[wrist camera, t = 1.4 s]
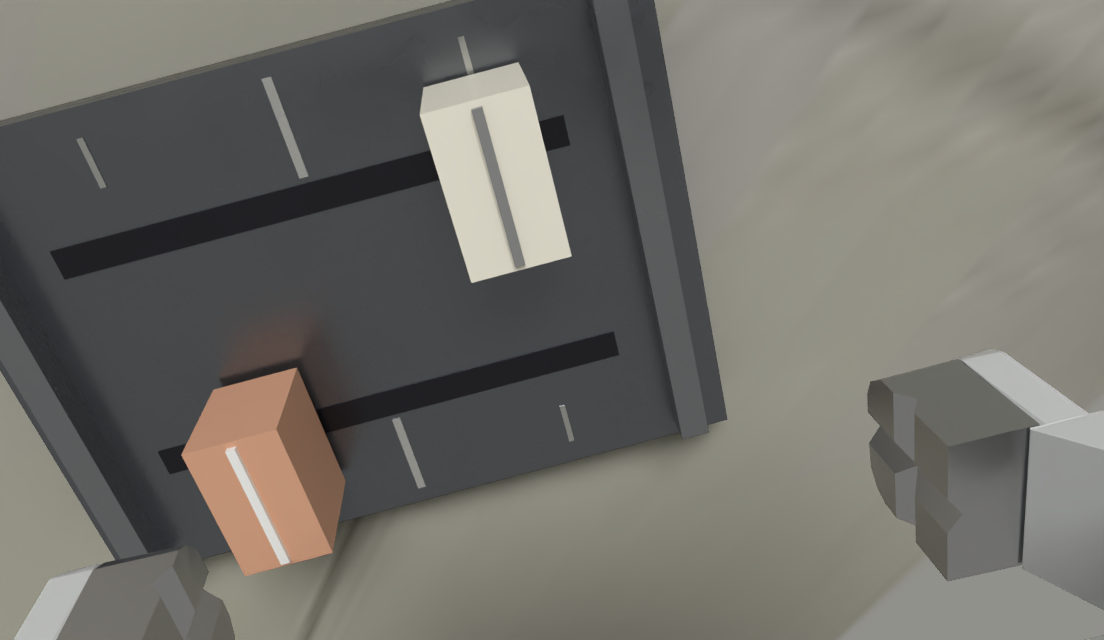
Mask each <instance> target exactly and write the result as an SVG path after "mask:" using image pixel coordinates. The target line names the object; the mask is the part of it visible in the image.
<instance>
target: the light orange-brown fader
mask: <svg viewBox="0 0 1104 640" xmlns="http://www.w3.org/2000/svg"><path fill="white" fill-rule="evenodd" d="M181 455H182V457H183V459H184V461H185V463H186V465H187V467H188V469H189V471H190V473H191V474H192V476H193V478H194V480H195V482H196V484H197V486H198V488H199V490H200V492H201V493H202V495H203V497H204V499H205V501H206V503H207V505H208V507H209V509H210V511H211V512H212V514H213V516H214V518H215V520H216V522H217V524H218V526H219V528H220V530H221V531H222V533H223V535H224V537H225V539H226V541H227V543H228V545H229V547H230V549H231V551H232V552H233V554H234V556H235V558H236V560H237V562H238V564H239V566H240V568H241V570H242V571H243V573H244V575H245V576H247V575H251V574H255V573H258V572H262V571H266V570H270V569H274V568H277V567H281V566H285V565H289V564H292V563H296V562H300V561H304V560H308V559H311V558H315V557H319V556H323V555H326V554H330V553H333V549H334V543H335V537H336V532H337V526H338V521H339V515H340V510H341V504H342V499H343V493H344V487H345V482H346V481H345V478H344V476H343V474H342V471H341V469H340V467H339V464H338V462H337V460H336V457H335V455H334V453H333V450H332V448H331V446H330V443H329V441H328V439H327V436H326V434H325V432H324V429H323V427H322V425H321V422H320V420H319V418H318V415H317V413H316V411H315V408H314V406H313V404H312V401H311V399H310V397H309V394H308V392H307V390H306V387H305V385H304V383H303V380H302V378H301V376H300V373H299V371H298V369H297V368H293V369H289V370H286V371H282V372H278V373H274V374H271V375H267V376H263V377H259V378H256V379H252V380H248V381H244V382H241V383H237V384H233V385H229V386H225V387H222V388H218V389H214V390H213V392H212V394H211V396H210V398H209V400H208V402H207V404H206V406H205V408H204V410H203V412H202V414H201V416H200V418H199V420H198V422H197V424H196V426H195V428H194V430H193V432H192V434H191V436H190V438H189V440H188V442H187V444H186V446H185V448H184V450H183V452H182V454H181Z"/></svg>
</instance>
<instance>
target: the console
mask: <svg viewBox="0 0 1104 640" xmlns="http://www.w3.org/2000/svg"><path fill="white" fill-rule="evenodd" d="M517 62H519V65H520V67H521V69H522V71H523V73H524V75H525V77H526V79H527V81H528V83H529V85H530V89H531V93H532V97H533V101H534V105H535V109H536V113H537V117H538V121H539V125H540V130H541V134H542V138H543V142H544V146H545V150H546V154H547V158H548V162H549V166H550V170H551V174H552V178H553V182H554V186H555V190H556V194H557V198H558V203H559V207H560V211H561V215H562V219H563V223H564V227H565V231H566V235H567V239H568V243H569V247H570V251H571V255H572V256H571V257H568V258H564V259H560V260H556V261H553V262H549V263H545V264H541V265H538V266H534V267H530V268H526V269H523V270H519V271H515V272H511V273H508V274H504V275H500V276H496V277H492V278H489V279H485V280H481V281H477V282H474V283H471V280H470V277H469V274H468V270H467V267H466V264H465V261H464V257H463V254H462V251H461V248H460V244H459V241H458V238H457V235H456V231H455V228H454V225H453V222H452V218H451V215H450V212H449V209H448V205H447V202H446V199H445V196H444V192H443V189H442V186H441V183H440V179H439V176H438V173H437V170H436V166H435V163H434V160H433V157H432V153H431V150H430V147H429V144H428V140H427V137H426V134H425V131H424V127H423V124H422V121H421V118H420V108H421V101H422V94H423V87H427V86H431V85H434V84H438V83H442V82H446V81H449V80H453V79H457V78H461V77H464V76H468V75H472V74H476V73H479V72H483V71H487V70H491V69H494V68H498V67H502V66H506V65H509V64H513V63H517ZM293 368H297V369H298V371H299V373H300V376H301V378H302V380H303V383H304V385H305V387H306V390H307V392H308V394H309V397H310V399H311V401H312V404H313V406H314V408H315V411H316V413H317V415H318V418H319V420H320V422H321V425H322V427H323V429H324V432H325V434H326V436H327V439H328V441H329V443H330V446H331V448H332V450H333V453H334V455H335V457H336V460H337V462H338V464H339V467H340V469H341V471H342V474H343V476H344V478H345V481H346V482H345V487H344V493H343V499H342V504H341V510H340V515H339V521H338V523H339V522H342V521H346V520H350V519H354V518H357V517H361V516H365V515H369V514H373V513H376V512H380V511H384V510H388V509H391V508H395V507H399V506H403V505H407V504H410V503H414V502H418V501H422V500H425V499H429V498H433V497H437V496H440V495H444V494H448V493H452V492H456V491H459V490H463V489H467V488H471V487H474V486H478V485H482V484H486V483H490V482H493V481H497V480H501V479H505V478H508V477H512V476H516V475H520V474H523V473H527V472H531V471H535V470H539V469H542V468H546V467H550V466H554V465H557V464H561V463H565V462H569V461H573V460H576V459H580V458H584V457H588V456H591V455H595V454H599V453H603V452H606V451H610V450H614V449H618V448H622V447H625V446H629V445H633V444H637V443H640V442H644V441H648V440H652V439H656V438H659V437H663V436H667V435H671V434H674V433H678V432H680V434H681V437H682V439H686V438H690V437H693V436H697V435H701V434H705V433H708V432H709V431H708V426H707V425H708V424H712V423H716V422H720V421H723V420H727V415H726V409H725V403H724V398H723V392H722V386H721V381H720V375H719V369H718V363H717V358H716V352H715V346H714V341H713V335H712V329H711V323H710V318H709V312H708V306H707V300H706V295H705V289H704V283H703V278H702V272H701V266H700V260H699V255H698V249H697V243H696V238H695V232H694V226H693V220H692V215H691V209H690V203H689V198H688V192H687V186H686V180H685V175H684V169H683V163H682V157H681V152H680V146H679V140H678V135H677V129H676V123H675V117H674V112H673V106H672V100H671V95H670V89H669V83H668V77H667V72H666V66H665V60H664V54H663V49H662V43H661V37H660V32H659V26H658V20H657V14H656V9H655V3H654V0H451V1H448V2H444V3H440V4H436V5H433V6H429V7H425V8H421V9H418V10H414V11H410V12H406V13H403V14H399V15H395V16H391V17H388V18H384V19H380V20H376V21H373V22H369V23H365V24H361V25H358V26H354V27H350V28H346V29H343V30H339V31H335V32H331V33H328V34H324V35H320V36H316V37H313V38H309V39H305V40H301V41H298V42H294V43H290V44H286V45H283V46H279V47H275V48H271V49H268V50H264V51H260V52H256V53H253V54H249V55H245V56H241V57H238V58H234V59H230V60H226V61H223V62H219V63H215V64H212V65H208V66H204V67H200V68H197V69H193V70H189V71H185V72H182V73H178V74H174V75H170V76H167V77H163V78H159V79H155V80H152V81H148V82H144V83H140V84H137V85H133V86H129V87H125V88H122V89H118V90H114V91H110V92H107V93H103V94H99V95H95V96H92V97H88V98H84V99H80V100H77V101H73V102H69V103H65V104H62V105H58V106H54V107H50V108H47V109H43V110H39V111H35V112H32V113H28V114H24V115H20V116H17V117H13V118H9V119H5V120H2V121H0V371H1V373H2V374H3V376H4V377H5V379H6V381H7V382H8V384H9V386H10V387H11V389H12V391H13V392H14V394H15V396H16V397H17V399H18V400H19V402H20V404H21V405H22V407H23V409H24V410H25V412H26V414H27V415H28V417H29V419H30V420H31V422H32V423H33V425H34V427H35V428H36V430H37V432H38V433H39V435H40V437H41V438H42V440H43V442H44V443H45V445H46V446H47V448H48V450H49V451H50V453H51V455H52V456H53V458H54V460H55V461H56V463H57V465H58V466H59V468H60V470H61V471H62V473H63V474H64V476H65V478H66V479H67V481H68V483H69V484H70V486H71V488H72V489H73V491H74V493H75V494H76V496H77V497H78V499H79V501H80V502H81V504H82V506H83V507H84V509H85V511H86V512H87V514H88V516H89V517H90V519H91V520H92V522H93V524H94V525H95V527H96V529H97V530H98V532H99V534H100V535H101V537H102V539H103V540H104V542H105V543H106V545H107V547H108V548H109V550H110V552H111V553H112V555H113V557H114V558H115V560H120V559H124V558H129V557H133V556H138V555H142V554H147V553H152V552H156V551H161V550H165V549H170V548H174V547H179V546H184V545H188V546H191V547H193V548H195V549H197V550H198V552H199V554H200V556H201V558H202V559H203V558H207V557H210V556H214V555H218V554H222V553H225V552H229V551H231V549H230V547H229V545H228V543H227V541H226V539H225V537H224V535H223V533H222V531H221V530H220V528H219V526H218V524H217V522H216V520H215V518H214V516H213V514H212V512H211V511H210V509H209V507H208V505H207V503H206V501H205V499H204V497H203V495H202V493H201V492H200V490H199V488H198V486H197V484H196V482H195V480H194V478H193V476H192V474H191V473H190V471H189V469H188V467H187V465H186V463H185V461H184V459H183V457H182V455H181V454H182V452H183V450H184V448H185V446H186V444H187V442H188V440H189V438H190V436H191V434H192V432H193V430H194V428H195V426H196V424H197V422H198V420H199V418H200V416H201V414H202V412H203V410H204V408H205V406H206V404H207V402H208V400H209V398H210V396H211V394H212V392H213V390H214V389H218V388H222V387H225V386H229V385H233V384H237V383H241V382H244V381H248V380H252V379H256V378H259V377H263V376H267V375H271V374H274V373H278V372H282V371H286V370H289V369H293Z"/></svg>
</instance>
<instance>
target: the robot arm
mask: <svg viewBox="0 0 1104 640" xmlns="http://www.w3.org/2000/svg"><path fill="white" fill-rule="evenodd" d="M867 397H868V413H869V414H870V415H871V416H872V417H873V418H874V420H875V421H876V422H877V423H878V424H879V425H880V427H879V428H878V430H877V432H876V433H875V435H874V436H873V438H872V440H871V441H870V443H869V448H870V460H871V468H872V472H873V475H874V478H875V482H876V485H877V488H878V490H879V492H880V494H881V496H882V498H883V500H884V502H885V504H886V505H887V506H888V508H889V509H890V510H891V511H892V513H893V514H894V515H895V517H896V518H898V519H901V520H903V521H906V522H908V523H911V524H913V525H915V526H916V543H917V544H918V546H919V547H920V548H921V549H922V551H923V552H924V553H925V554H926V555H927V557H928V558H929V559H930V560H931V562H932V563H933V564H934V565H935V567H936V568H937V569H938V570H939V571H940V573H941V574H942V575H943V576H944V578H945V579H946V580H947V581H952V580H956V579H960V578H965V577H969V576H974V575H979V574H983V573H988V572H992V571H997V570H1001V569H1006V568H1010V567H1015V566H1019V565H1022V569H1024V570H1026V571H1028V572H1030V573H1032V574H1034V575H1036V576H1038V577H1040V578H1042V579H1044V580H1046V581H1048V582H1050V583H1052V584H1054V585H1055V586H1058V587H1059V588H1062V589H1063V590H1065V591H1067V592H1069V593H1071V594H1073V595H1075V596H1077V597H1079V598H1081V599H1083V600H1085V601H1087V602H1089V603H1091V604H1093V605H1095V606H1097V607H1099V608H1101V609H1103V610H1104V411H1098V412H1094V413H1090V414H1089V413H1087V412H1086V411H1085V410H1083V409H1082V408H1081V407H1079V406H1078V405H1076V404H1075V403H1074V402H1072V401H1071V400H1069V399H1068V398H1067V397H1065V396H1064V395H1063V394H1061V393H1060V392H1058V391H1057V390H1056V389H1054V388H1053V387H1051V386H1050V385H1049V384H1047V383H1046V382H1045V381H1043V380H1042V379H1040V378H1039V377H1038V376H1036V375H1035V374H1034V373H1032V372H1031V371H1029V370H1028V369H1027V368H1025V367H1024V366H1022V365H1021V364H1020V363H1018V362H1017V361H1016V360H1014V359H1013V358H1011V357H1010V356H1009V355H1007V354H1006V353H1005V352H1003V351H999V350H994V349H989V350H986V351H982V352H979V353H975V354H971V355H968V356H964V357H960V358H957V359H953V360H951V361H949V362H945V363H941V364H937V365H933V366H929V367H925V368H922V369H918V370H914V371H910V372H906V373H902V374H898V375H895V376H891V377H887V378H883V379H879V380H875V381H871V382H870V386H869V390H868V394H867ZM208 572H209V571H208V569H207V567H206V565H205V564H204V562H203V560H202V558H201V556H200V554H199V552H198V550H197V549H195V548H193V547H191V546H188V545H184V546H179V547H174V548H170V549H165V550H161V551H156V552H152V553H147V554H142V555H138V556H133V557H129V558H124V559H120V560H115V561H110V562H106V563H103V564H102V565H101V564H96V565H92V566H88V567H84V568H80V569H76V570H72V571H68V572H64V573H61V574H59V575H57V576H55V577H53V578H51V579H49V581H48V583H47V584H46V586H45V588H44V589H43V591H42V593H41V594H40V596H39V598H38V600H37V601H36V603H35V605H34V606H33V608H32V610H31V611H30V613H29V615H28V616H27V618H26V620H25V621H24V623H23V625H22V626H21V628H20V630H19V631H18V633H17V635H16V636H15V638H14V640H235V635H234V631H233V627H232V623H231V619H230V616H229V613H228V611H227V609H226V607H225V605H224V603H223V600H221V599H219V598H217V597H216V596H214V595H212V594H210V593H209V592H207V591H205V590H203V587H204V584H205V581H206V578H207V575H208ZM1087 640H1104V635H1101V636H1098V637H1094V638H1090V639H1087Z"/></svg>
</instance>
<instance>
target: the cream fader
mask: <svg viewBox="0 0 1104 640" xmlns="http://www.w3.org/2000/svg"><path fill="white" fill-rule="evenodd" d="M420 118H421V121H422V124H423V127H424V131H425V134H426V137H427V140H428V144H429V147H430V150H431V153H432V157H433V160H434V163H435V166H436V170H437V173H438V176H439V179H440V183H441V186H442V189H443V192H444V196H445V199H446V202H447V205H448V209H449V212H450V215H451V218H452V222H453V225H454V228H455V231H456V235H457V238H458V241H459V244H460V248H461V251H462V254H463V257H464V261H465V264H466V267H467V270H468V274H469V277H470V280H471V283H474V282H477V281H481V280H485V279H489V278H492V277H496V276H500V275H504V274H508V273H511V272H515V271H519V270H523V269H526V268H530V267H534V266H538V265H541V264H545V263H549V262H553V261H556V260H560V259H564V258H568V257H571V256H572V255H571V251H570V247H569V243H568V239H567V235H566V231H565V227H564V223H563V219H562V215H561V211H560V207H559V203H558V198H557V194H556V190H555V186H554V182H553V178H552V174H551V170H550V166H549V162H548V158H547V154H546V150H545V146H544V142H543V138H542V134H541V130H540V125H539V121H538V117H537V113H536V109H535V105H534V101H533V97H532V93H531V89H530V85H529V83H528V81H527V79H526V77H525V75H524V73H523V71H522V69H521V67H520V65H519V62H517V63H513V64H509V65H506V66H502V67H498V68H494V69H491V70H487V71H483V72H479V73H476V74H472V75H468V76H464V77H461V78H457V79H453V80H449V81H446V82H442V83H438V84H434V85H431V86H427V87H423V94H422V101H421V108H420Z"/></svg>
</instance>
